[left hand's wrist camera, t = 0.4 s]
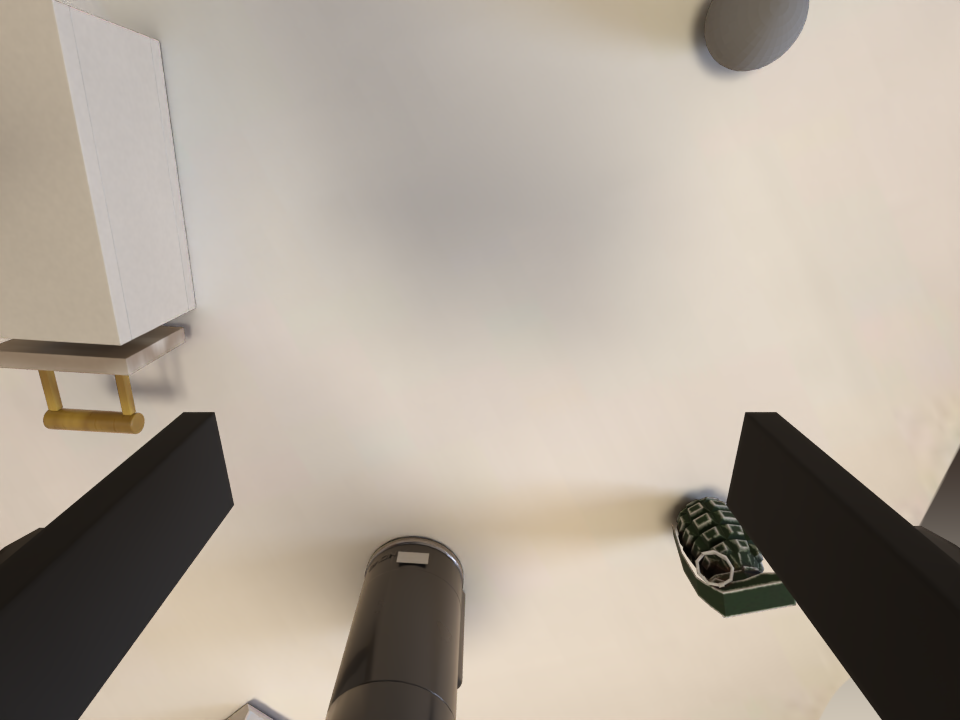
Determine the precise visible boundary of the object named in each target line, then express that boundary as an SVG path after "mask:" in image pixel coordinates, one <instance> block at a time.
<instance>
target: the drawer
mask: <svg viewBox="0 0 960 720" xmlns="http://www.w3.org/2000/svg"><path fill="white" fill-rule="evenodd" d="M184 342H186V340H185V334H184V328H183V327H168V326H159V327H157V328H155V329H153V330H151V331H149V332H147V333H145V334H143V335H141V336H139V337H137V338H135V339H133V340H131V341H129V342H127V343H125V344H123V345H105V344H89V343H73V342H57V341H41V340H26V339H11V340H8V341H6V342H3V343H0V368H14V369H31V370H38V371H39V375H40V379H41V382H42V386H43V390H44V394H45V397H46V401H47V405H48V409H49V410H48V411H47V412H46V413H45V415H44V418H43V422H44V425H45V427H47V428H48V429H60V430H77V431H94V432H111V433H128V434H138V433H140V432H141V431H142V429H143V427H144V416H143V415H142V414H141V413H135V412H136V410H135V405H134V400H133V395H132V390H131V385H130V380H129V375H131V374H133V373H134V372H136V371H138V370H139V369H141V368H143V367H144V366H146V365H148V364H149V363H151V362H153V361H154V360H156V359H158V358H159V357H161V356H163V355H164V354H166V353H168V352H169V351H171V350H173V349H174V348H176V347H178V346H179V345H181V344H183V343H184ZM54 371H63V372H80V373H96V374H112V375H115V379H116V384H117V388H118V393H119V398H120V403H121V408H122V412H115V411H99V410H82V409H65V408H63V406H62V402H61V398H60V394H59V390H58V386H57V382H56V378H55V374H54Z"/></svg>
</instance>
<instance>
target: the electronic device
mask: <svg viewBox="0 0 960 720" xmlns="http://www.w3.org/2000/svg"><path fill="white" fill-rule="evenodd" d="M227 720H273V719H272V718H270V717H269V716H267V715H265V714H264V713H262V712H261V711H259V710H257V709H256V708H254V707H252V706H251V705H249V704H248V703H247V704H246V705H245V706H243V707H242V708H241V709H239V710H238V711H237V712H236V713H234V714H233V715H232V716H230V717H229V718H228V719H227Z"/></svg>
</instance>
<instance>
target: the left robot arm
mask: <svg viewBox="0 0 960 720" xmlns="http://www.w3.org/2000/svg"><path fill="white" fill-rule="evenodd" d="M233 506H234V503H233V498H232V493H231V488H230V483H229V479H228V474H227V469H226V464H225V460H224V455H223V450H222V445H221V440H220V436H219V431H218V426H217V421H216V417H215V412H183V413H182V414H181V415H180V416H179V417H177V418H176V419H175V420H174V421H173V422H171V423H170V424H169V425H168V426H167V427H165V428H164V429H163V430H162V431H160V432H159V433H158V434H157V435H156V436H154V437H153V438H152V439H151V440H150V441H148V442H147V443H146V444H145V445H144V446H142V447H141V448H140V449H139V450H138V451H136V452H135V453H134V454H133V455H132V456H130V457H129V458H128V459H127V460H126V461H124V462H123V463H122V464H121V465H120V466H118V467H117V468H116V469H115V470H114V471H112V472H111V473H110V474H109V475H108V476H106V477H105V478H104V479H103V480H102V481H100V482H99V483H98V484H97V485H96V486H94V487H93V488H92V489H91V490H90V491H88V492H87V493H86V494H85V495H84V496H82V497H81V498H80V499H79V500H77V501H76V502H75V503H74V504H73V505H71V506H70V507H69V508H68V509H67V510H65V511H64V512H63V513H62V514H61V515H59V516H58V517H57V518H56V519H55V520H53V521H52V522H51V523H50V524H49V525H47V526H46V527H45V528H38V529H37V530H35V531H33V532H31V533H29V534H27V535H26V536H24V537H22V538H20V539H18V540H17V541H15V542H13V543H11V544H9V545H7V546H6V547H4V548H3V549H2V550H0V720H78V719H79V718H80V717H81V715H82V714H83V712H84V711H85V710H86V708H87V707H88V705H89V704H90V703H91V701H92V700H93V699H94V697H95V696H96V694H97V693H98V692H99V690H100V689H101V688H102V686H103V685H104V683H105V682H106V681H107V679H108V678H109V677H110V675H111V674H112V672H113V671H114V670H115V668H116V667H117V666H118V664H119V663H120V661H121V660H122V659H123V657H124V656H125V654H126V653H127V652H128V650H129V649H130V648H131V646H132V645H133V643H134V642H135V641H136V639H137V638H138V637H139V635H140V634H141V632H142V631H143V630H144V628H145V627H146V626H147V624H148V623H149V621H150V620H151V619H152V617H153V616H154V615H155V613H156V612H157V610H158V609H159V608H160V606H161V605H162V603H163V602H164V601H165V599H166V598H167V597H168V595H169V594H170V592H171V591H172V590H173V588H174V587H175V586H176V584H177V583H178V581H179V580H180V579H181V577H182V576H183V575H184V573H185V572H186V570H187V569H188V568H189V566H190V565H191V564H192V562H193V561H194V559H195V558H196V557H197V555H198V554H199V553H200V551H201V550H202V548H203V547H204V546H205V544H206V543H207V541H208V540H209V539H210V537H211V536H212V535H213V533H214V532H215V530H216V529H217V528H218V526H219V525H220V524H221V522H222V521H223V519H224V518H225V517H226V515H227V514H228V513H229V511H230V510H231V508H232V507H233ZM726 506H727V507H728V508H729V510H730V511H731V513H732V514H733V515H734V517H735V518H736V519H737V521H738V522H739V524H740V525H741V526H742V528H743V529H744V530H745V532H746V533H747V535H748V536H749V537H750V539H751V540H752V541H753V543H754V544H755V546H756V547H757V548H758V550H759V551H760V553H761V554H762V555H763V557H764V558H765V559H766V561H767V562H768V564H769V565H770V566H771V568H772V569H773V570H774V572H775V573H776V575H777V576H778V577H779V579H780V580H781V581H782V583H783V584H784V586H785V587H786V588H787V590H788V591H789V592H790V594H791V595H792V597H793V598H794V599H795V601H796V602H797V603H798V605H799V606H800V608H801V609H802V610H803V612H804V613H805V615H806V616H807V617H808V619H809V620H810V621H811V623H812V624H813V626H814V627H815V628H816V630H817V631H818V632H819V634H820V635H821V637H822V638H823V639H824V641H825V642H826V643H827V645H828V646H829V648H830V649H831V650H832V652H833V653H834V654H835V656H836V657H837V659H838V660H839V661H840V663H841V664H842V666H843V667H844V668H845V670H846V671H847V672H848V674H849V675H850V677H851V678H852V679H853V681H854V682H855V683H856V685H857V686H858V688H859V689H860V690H861V692H862V693H863V694H864V696H865V697H866V699H867V700H868V701H869V703H870V704H871V705H872V707H873V708H874V710H875V711H876V712H877V714H878V715H879V716H880V718H881V719H882V720H960V548H959V547H958V546H956V545H955V544H953V543H951V542H949V541H947V540H946V539H944V538H942V537H940V536H938V535H937V534H935V533H933V532H931V531H929V530H927V529H925V528H924V527H922V526H913V525H911V524H910V523H909V522H908V521H907V520H905V519H904V518H903V517H902V516H901V515H899V514H898V513H897V512H896V511H895V510H893V509H892V508H891V507H890V506H889V505H887V504H886V503H885V502H884V501H883V500H881V499H880V498H879V497H878V496H876V495H875V494H874V493H873V492H872V491H870V490H869V489H868V488H867V487H866V486H864V485H863V484H862V483H861V482H860V481H858V480H857V479H856V478H855V477H854V476H852V475H851V474H850V473H849V472H848V471H846V470H845V469H844V468H843V467H842V466H840V465H839V464H838V463H837V462H836V461H834V460H833V459H832V458H831V457H830V456H828V455H827V454H826V453H825V452H824V451H822V450H821V449H820V448H819V447H818V446H816V445H815V444H814V443H813V442H812V441H810V440H809V439H808V438H807V437H806V436H804V435H803V434H802V433H801V432H800V431H798V430H797V429H796V428H795V427H793V426H792V425H791V424H790V423H789V422H787V421H786V420H785V419H784V418H783V417H781V416H780V415H779V414H778V413H777V412H745V417H744V421H743V426H742V431H741V436H740V440H739V445H738V450H737V455H736V460H735V464H734V469H733V474H732V479H731V483H730V488H729V493H728V498H727V503H726Z"/></svg>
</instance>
